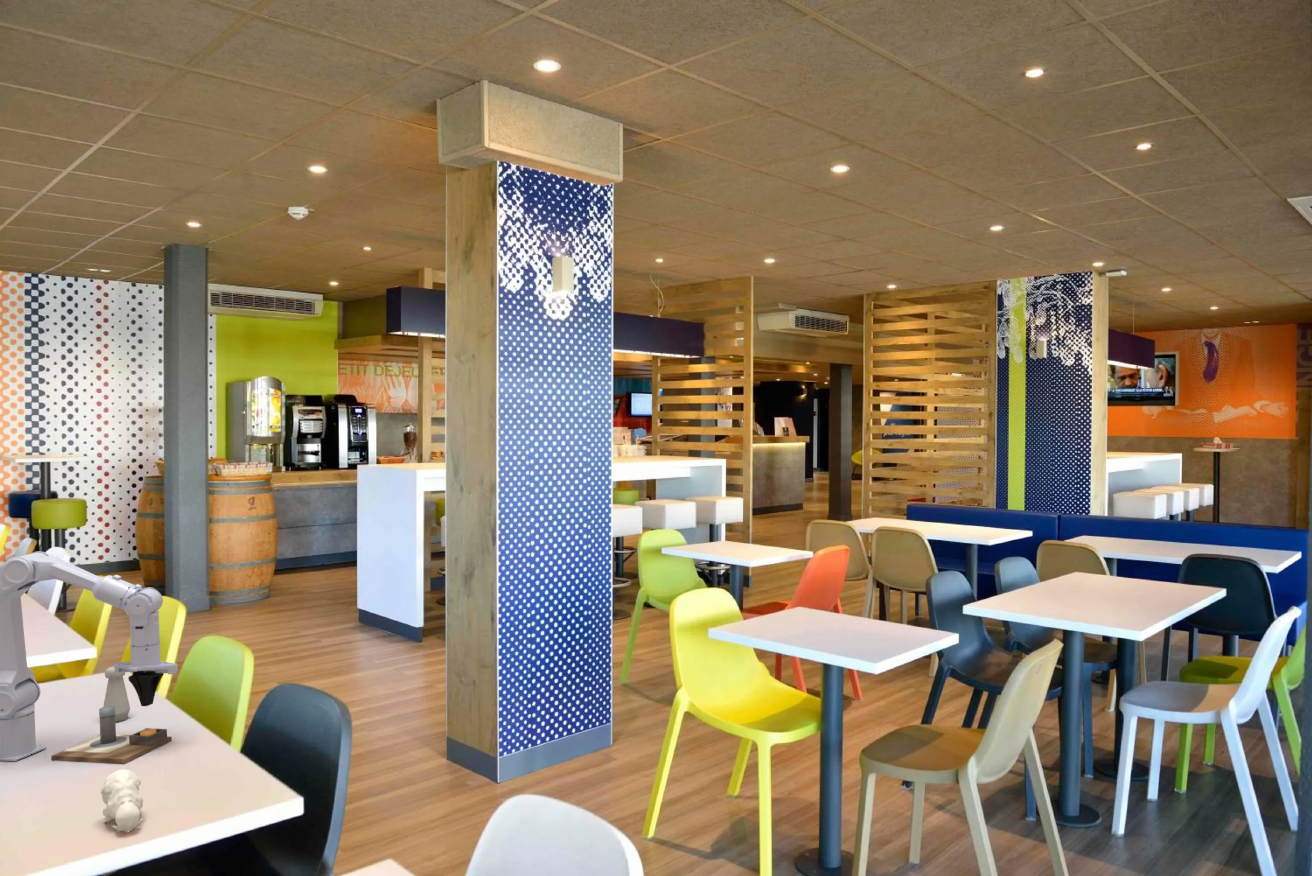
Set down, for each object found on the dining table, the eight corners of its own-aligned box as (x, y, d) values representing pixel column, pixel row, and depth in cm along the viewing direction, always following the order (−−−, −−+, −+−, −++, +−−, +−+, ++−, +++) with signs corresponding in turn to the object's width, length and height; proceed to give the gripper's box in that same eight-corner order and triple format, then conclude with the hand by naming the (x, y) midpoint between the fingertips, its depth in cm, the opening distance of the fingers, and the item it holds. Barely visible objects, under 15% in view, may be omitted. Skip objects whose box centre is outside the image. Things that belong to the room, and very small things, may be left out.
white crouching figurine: (138, 762, 168) (149, 787, 158) (139, 806, 168) (150, 834, 159) (99, 770, 164) (107, 797, 154) (100, 816, 165) (108, 845, 155)
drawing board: (51, 760, 195) (50, 746, 195) (102, 737, 208) (102, 724, 208) (124, 764, 191) (123, 749, 191) (171, 741, 205) (171, 727, 205)
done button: (136, 742, 201) (136, 733, 201) (147, 737, 204) (147, 728, 204) (149, 742, 200) (149, 733, 200) (159, 737, 203) (159, 729, 203)
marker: (96, 743, 201) (95, 710, 200) (107, 739, 204) (106, 705, 204) (109, 744, 200) (107, 710, 200) (119, 739, 203) (118, 706, 203)
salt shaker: (117, 724, 218) (115, 670, 218) (96, 723, 219) (95, 669, 219) (135, 716, 224) (134, 664, 224) (115, 715, 225) (114, 663, 225)
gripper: (102, 647, 199) (104, 709, 199) (160, 649, 197) (162, 711, 197) (127, 640, 206) (129, 699, 206) (183, 641, 203) (185, 701, 204)
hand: (147, 705), depth 202 cm, fingers closed
